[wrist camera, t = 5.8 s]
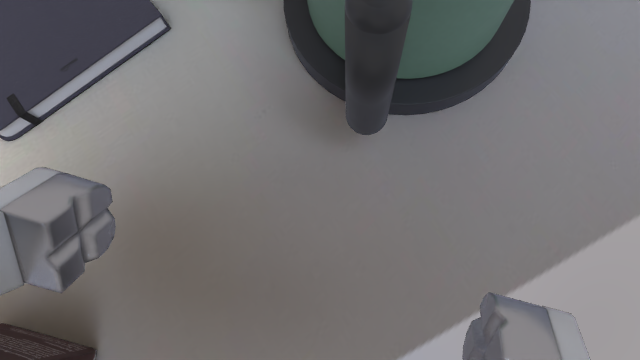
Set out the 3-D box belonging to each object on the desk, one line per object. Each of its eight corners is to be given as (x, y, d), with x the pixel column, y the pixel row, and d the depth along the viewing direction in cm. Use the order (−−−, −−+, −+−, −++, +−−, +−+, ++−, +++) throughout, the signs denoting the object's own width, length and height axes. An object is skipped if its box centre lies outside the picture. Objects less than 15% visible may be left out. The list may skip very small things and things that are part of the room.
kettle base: (571, 3, 27) (583, -13, 26) (407, 164, 25) (411, 156, 24) (396, -121, 31) (399, -142, 29) (240, 12, 28) (234, -3, 27)
